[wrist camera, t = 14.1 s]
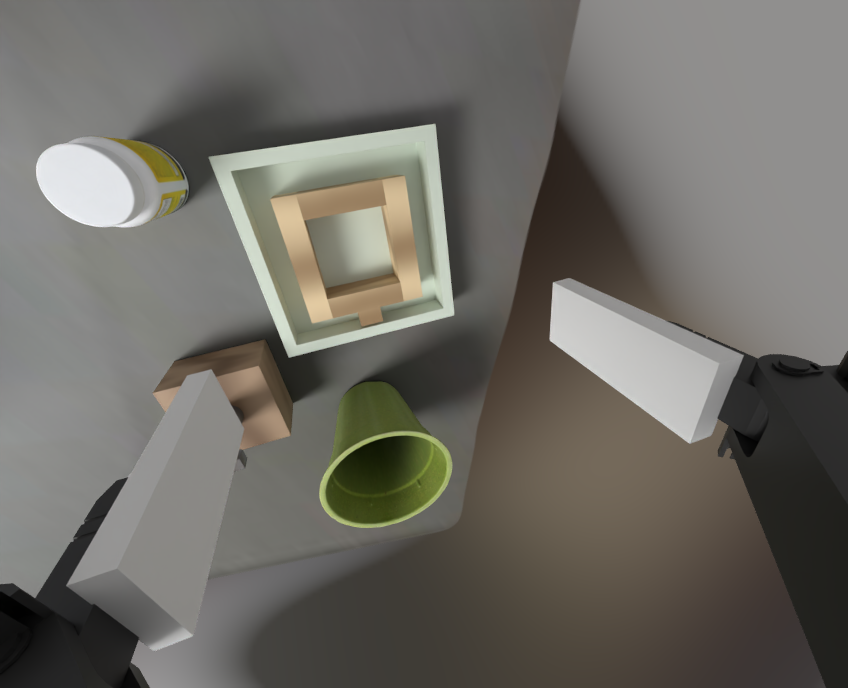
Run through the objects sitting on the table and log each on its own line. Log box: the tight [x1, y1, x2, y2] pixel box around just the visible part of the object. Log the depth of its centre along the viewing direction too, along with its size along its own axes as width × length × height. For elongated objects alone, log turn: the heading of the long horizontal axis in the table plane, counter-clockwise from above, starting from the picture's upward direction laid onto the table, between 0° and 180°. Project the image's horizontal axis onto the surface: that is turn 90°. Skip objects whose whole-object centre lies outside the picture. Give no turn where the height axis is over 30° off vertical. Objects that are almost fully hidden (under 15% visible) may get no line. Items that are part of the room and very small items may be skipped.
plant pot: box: [320, 381, 452, 528], centre depth 35 cm, size 12×12×11 cm
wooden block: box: [153, 339, 293, 472], centre depth 29 cm, size 8×8×11 cm
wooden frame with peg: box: [270, 175, 423, 326], centre depth 29 cm, size 11×10×3 cm
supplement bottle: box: [36, 136, 189, 227], centre depth 21 cm, size 5×5×8 cm
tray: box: [208, 124, 454, 358], centre depth 29 cm, size 16×16×3 cm
